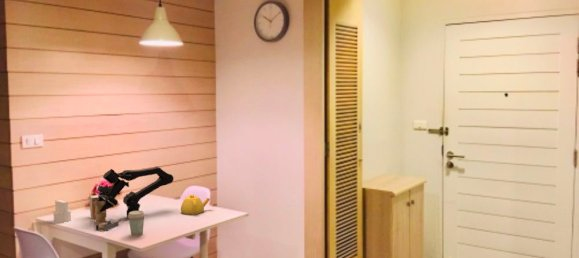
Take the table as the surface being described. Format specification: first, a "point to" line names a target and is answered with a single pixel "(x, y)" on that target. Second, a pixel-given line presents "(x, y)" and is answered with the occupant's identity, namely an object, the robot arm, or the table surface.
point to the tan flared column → (99, 215)
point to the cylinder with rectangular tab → (62, 212)
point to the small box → (93, 206)
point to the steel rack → (109, 225)
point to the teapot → (193, 205)
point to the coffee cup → (136, 222)
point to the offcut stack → (101, 226)
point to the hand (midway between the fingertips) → (97, 210)
